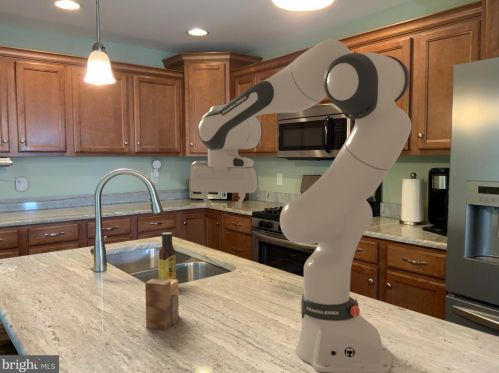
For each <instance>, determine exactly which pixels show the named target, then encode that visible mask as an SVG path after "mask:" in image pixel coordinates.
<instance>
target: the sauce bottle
mask: <svg viewBox="0 0 499 373" xmlns="http://www.w3.org/2000/svg"><path fill="white" fill-rule="evenodd" d="M173 236H174V235H173V232H162V233H161V247H160V248H159V251H158V280H168V279H173V280H177V274H176V272H177V270H176V269H177V266H176V265H177V259H176V258H177V256H176V255H177V254H176V252H175V251H176V250H175V248H174V245H173Z"/></svg>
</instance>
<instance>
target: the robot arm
mask: <svg viewBox="0 0 499 373" xmlns="http://www.w3.org/2000/svg"><path fill="white" fill-rule="evenodd" d="M410 77H411V76H410V72H409V69H408V68H407V66H406V64H405V63H404V62H403V61H401V60H400V59H399V58H397V57H395V56H392V55H388V54H387V55H383V54H380V53H378V52H351V51H350V49H349V48H348V46H347V45H346V44H344V43H343V42H342V41H340V40H338V39H335V38H334V39H333V38H328V39H326V40H322V41H321V42H319V43H317V44H315V45H314V46H312V47H310V48H309V49H307V50H306V51H304V52H303V53H302V54H300V55H299V56H298V57H296V58H295V59H294V60H293V61H292V62H290V63H289V64H288V65H286V66H285V67H283V69H280V70H279V71H278V72H276V73H275V74H273V75H271V76H269V77H268V78H266V79H265V80H262V81H260V82H257V83H256V84H254V85H252V86H250V87H249V88H248V89H246V90H245V91H243V92H242V93H240V94H238V95H237V96H236V97H234V98H233V99H231V100H230V101H229V102H227V103H221V104H216V105H213V106H212V107H211V108H210V109H209V110H208V111H207V112H206V113H205V114H204V115H203V116H202V118H201V119H200V121H199V123H198V126H197V133H198V137H199V140H200V141H201V143H202V144H203V145H204V146H205V147H206V148H207V160H195V161H194V162H192V163H191V164H190V180H189V181H190V182H189V183H190V184H189V188H190V190H191V191H192V192H195V193H196V192H198V193H199V192H200V194H201V197H202V199H203V201H204V206H205V208H212V206H213V204H212V203H213V201H212V200H210V199H209V197H208V196H209V193H232V194H233V193H236V194H238V197H239V199H238V201H235V202H234V208H235V209H242V207H243V206H242V202H243V201H244V200H245V198H246V194H253V193H256V191H257V190H258V178H257V177H258V176H257V172H256V170H255V169H254V168H253V166H254V165H255V164H254V160H253V159H251V158H249V157H245V156H243V155H239V150H250V149H254V148H256V147H258V145H259V144H260V142H261V140H262V137H263V125H262V123H261V121H260V119H259V118H258V116H261V115H267V114H291V113H292V114H293V113H294V114H296V113H301V112H303V111H305V110H307V109H310V108H313V107H314V106H316V105H317V104H319V103H320V102H321V101H323V100H324V99H325V98H327V99H329V101H330V102H331V103H332V104H333V105H334V106H335V107H336V108H338V109H339V110H340V111H341V112H342V114H343V116H344V117H345V118H347V119H348V120H354V126H353V128H352V129H351V131H350V133H349V134H348V137H347V138H346V140H345V141H344V144H343V145H342V147H341V148H340V149H339V152H338V153H337V154H336V157H335V158H334V159H333V161H332V163H331V164H330V166H329V167H328V168H327V170H326V171H325V172H324V173H323V174H322V175H321V176H320V177H319V178H318V179H317V180H316V181H315V182H314V183H313V184H312V185H311V186H309V187H308V189H306V190H305V191H304V192H303V193H301V194H300V195H298V196H297V197H296V198H294V199H292V200H290V201H288V202H287V203H285V204H284V206H283V207H282V209H281V212H280V216H279V225H280V229H281V232H282V234H283V235H284V237H285V238H286V239H287V240H288V241H290V242H291V243H295V244H301V245H302V244H303V245H304V244H305V245H314V244H317V245H316V247H315V249H314V251H313V253H312V254H311V255H310V256H309V257H308V258H307V259H306V261H305V263H304V266H303V293H302V295H301V300H300V308H301V309H300V314H301V320H302V321H301V327H300V328H301V329H300V335H299V337H298V338H299V339H298V342H297V346H296V348H295V349H296V354H297V356H298V357H299V358H300V359H301V360H303V361H304V362H306V363H308V364H309V365H311V366H312V368H314V369H315V370H316V371H317V372H320V373H390V371H391V370H392V366H393V360H392V353H391V352H390V350H389V348H388V347H387V346H386V345H384V344H383V343H382V342H383V341H382V338H381V335H380V333H379V330H378V328H376V327H375V325H373V324H372V323H371V322H369V321H368V320H367V319H366V318H364V317H363V316H362V315H361V314H360V311H361V309H360V307H359V303H358V300H357V298H353V297H351V296H350V294H351V273H352V265H353V260H354V257H355V253H356V250H357V247H358V245H359V243H360V240H361V239H362V237H363V236H364V234H365V233H366V232H367V230H368V229H369V228H370V227H371V225H372V223H373V216H374V215H373V210H372V207H371V205H370V203H369V202H368V201H367V199H369V198H371V196H372V195H374V193H375V192H376V191H377V189H378V187H379V186H380V185H381V183H382V182H383V181H384V179H385V178H386V176H387V175H388V173H389V172H390V170H392V168H393V166H394V165H395V163H396V162H397V160H398V159H399V157H400V155H401V154H402V151H403V149H404V148H405V146H406V143H407V142H408V139H409V136H410V134H411V131H412V128H413V126H412V121H411V118H410V117H409V115H408V113H406V111H404V110H403V109H402V108H400V107H399V106H398V105H397V104H396V103H397V102H398V101H400V100H401V99H402V98H403V96H405V94H406V92H407V91H408V88H409V87H410V83H411V82H410V81H411V79H410Z"/></svg>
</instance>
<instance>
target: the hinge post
mask: <svg viewBox="0 0 499 373" xmlns="http://www.w3.org/2000/svg"><path fill="white" fill-rule="evenodd" d="M144 284H145V285H144V287H145V326H146V327H145V328H146V329H154V330H159V331H160V330H161V331H167V330H168V329H169V328H170V327H171V326H174V325H175V324H176V323H177V322H178V316H177V295H172V296H171V281H167V280H159V279H155V278H151V279H150V280H148V281H146V282H145V283H144Z"/></svg>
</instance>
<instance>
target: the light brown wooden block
mask: <svg viewBox="0 0 499 373" xmlns="http://www.w3.org/2000/svg"><path fill="white" fill-rule="evenodd" d="M167 281H171V296H172V295H177V317H179V316H180V314H179V311H180V310H179V306H180V303H179V279H176V280H173V279H168V280H167Z"/></svg>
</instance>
